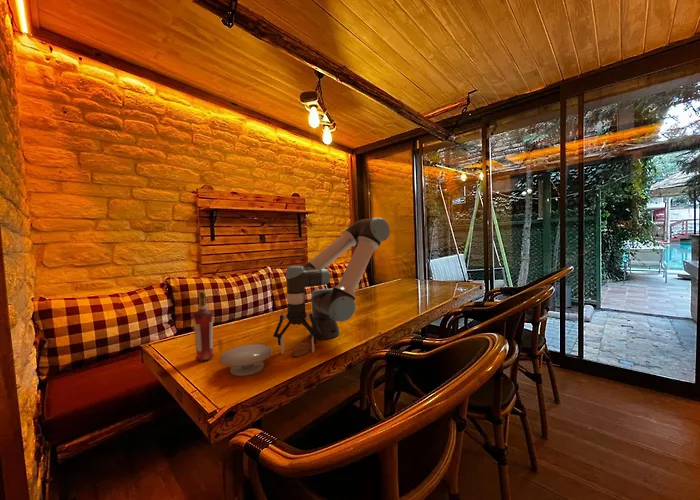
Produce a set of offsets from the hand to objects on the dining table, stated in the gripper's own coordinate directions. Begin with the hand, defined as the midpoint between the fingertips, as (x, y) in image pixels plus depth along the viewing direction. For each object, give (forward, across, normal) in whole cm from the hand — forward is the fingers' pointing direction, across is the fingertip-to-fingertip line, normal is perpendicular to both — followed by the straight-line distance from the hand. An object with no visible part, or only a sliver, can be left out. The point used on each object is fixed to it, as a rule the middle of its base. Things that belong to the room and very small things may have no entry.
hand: (297, 352), depth 123 cm
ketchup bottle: (0, +38, +3) cm, 38 cm away
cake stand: (0, +17, +14) cm, 22 cm away
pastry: (+1, -1, 0) cm, 1 cm away
